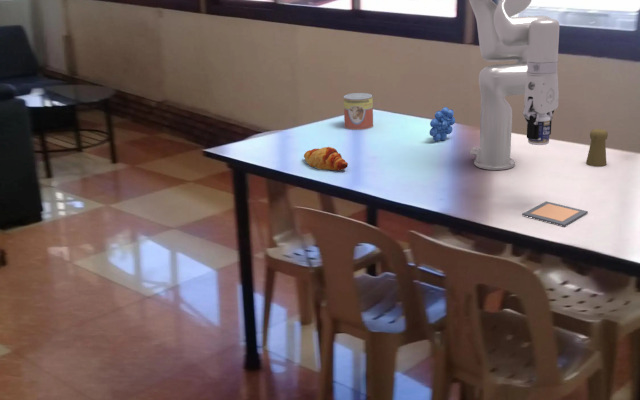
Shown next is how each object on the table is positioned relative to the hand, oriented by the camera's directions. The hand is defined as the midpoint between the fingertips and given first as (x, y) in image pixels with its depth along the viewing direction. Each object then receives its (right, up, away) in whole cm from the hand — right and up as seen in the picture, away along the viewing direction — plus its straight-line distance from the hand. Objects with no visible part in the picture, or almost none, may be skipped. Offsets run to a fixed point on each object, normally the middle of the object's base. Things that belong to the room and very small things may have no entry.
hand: (538, 135), depth 197 cm
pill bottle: (0, -2, +1) cm, 2 cm away
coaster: (+3, -21, -4) cm, 21 cm away
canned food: (-43, +11, +91) cm, 101 cm away
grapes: (-15, +4, +68) cm, 70 cm away
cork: (+28, -6, +35) cm, 45 cm away
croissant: (-56, -6, +45) cm, 73 cm away
